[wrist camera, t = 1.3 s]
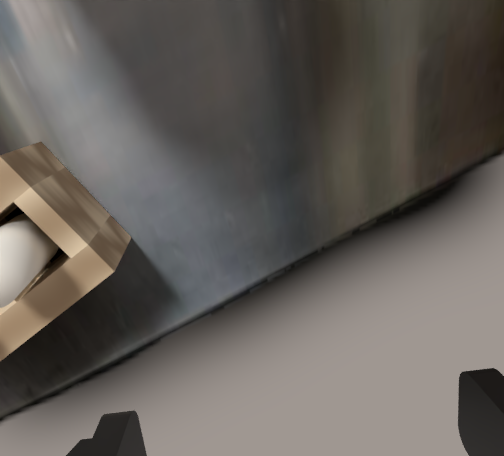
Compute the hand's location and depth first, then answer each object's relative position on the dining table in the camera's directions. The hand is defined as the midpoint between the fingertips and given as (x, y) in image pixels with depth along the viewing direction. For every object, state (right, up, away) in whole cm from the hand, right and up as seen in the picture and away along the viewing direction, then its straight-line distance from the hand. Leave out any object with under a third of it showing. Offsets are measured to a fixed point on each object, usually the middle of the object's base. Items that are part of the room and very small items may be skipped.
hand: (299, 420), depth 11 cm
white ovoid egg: (-17, +4, +21) cm, 27 cm away
